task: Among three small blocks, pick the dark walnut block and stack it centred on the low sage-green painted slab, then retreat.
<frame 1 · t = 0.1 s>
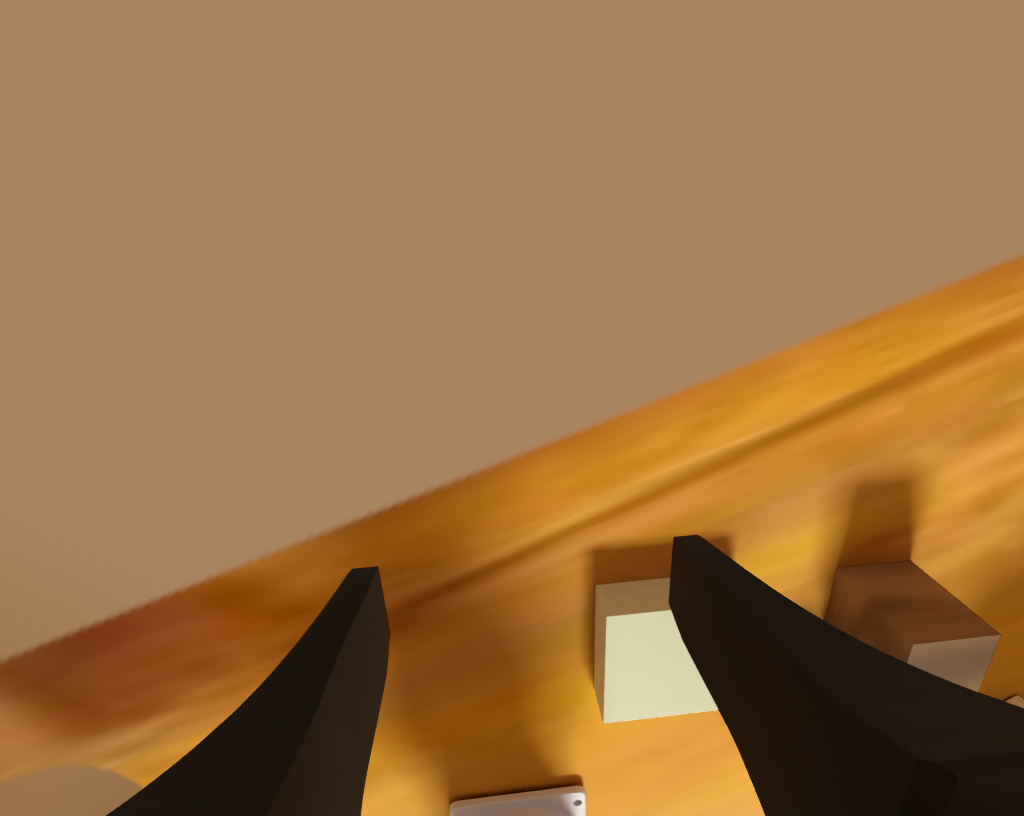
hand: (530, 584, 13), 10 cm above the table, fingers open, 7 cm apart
sage slab: (658, 625, 28), on the table
walnut block: (865, 594, 28), on the table
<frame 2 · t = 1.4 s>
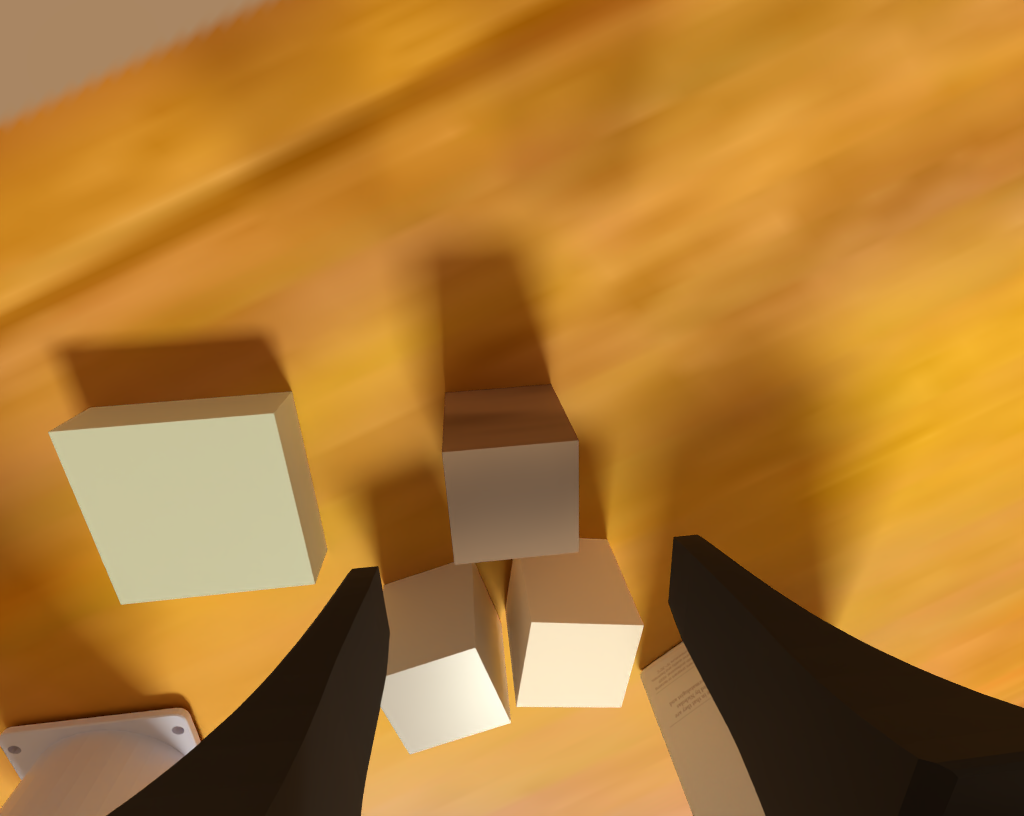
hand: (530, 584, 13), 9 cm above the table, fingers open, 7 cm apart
sage slab: (222, 478, 21), on the table
walnut block: (501, 435, 21), on the table
supplement box: (731, 664, 27), on the table
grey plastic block: (444, 603, 24), on the table
cream block: (555, 574, 24), on the table
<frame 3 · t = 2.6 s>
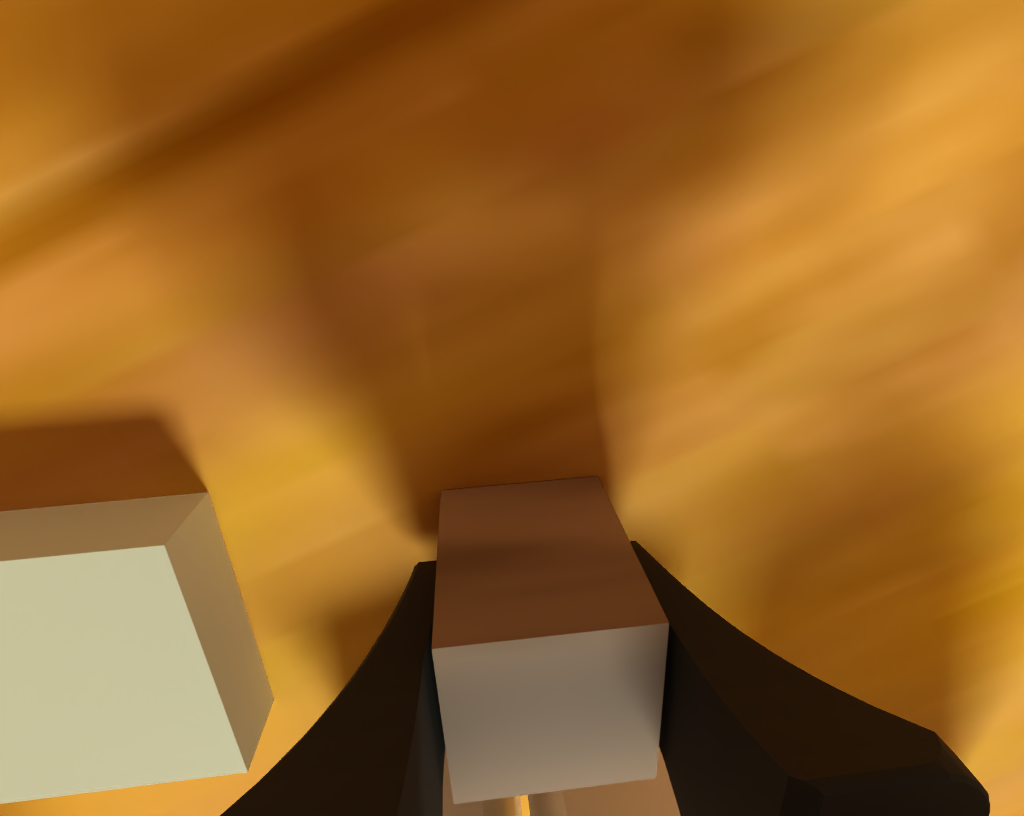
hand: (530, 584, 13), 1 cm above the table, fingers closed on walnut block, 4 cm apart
sage slab: (115, 609, 14), on the table
walnut block: (523, 548, 14), on the table, touching gripper
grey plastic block: (440, 759, 17), on the table
cream block: (593, 719, 17), on the table
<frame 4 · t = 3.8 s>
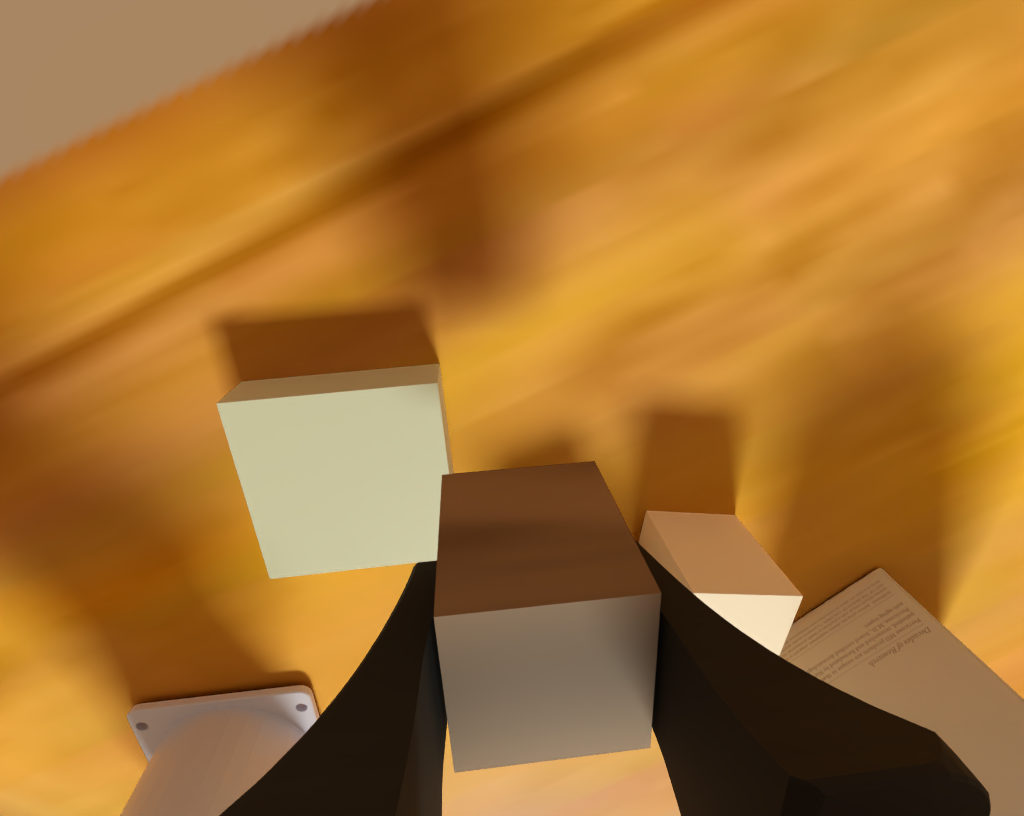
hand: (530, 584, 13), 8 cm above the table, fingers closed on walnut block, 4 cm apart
sage slab: (360, 453, 21), on the table
walnut block: (522, 532, 15), point 6 cm above the table, touching gripper
supplement box: (843, 643, 27), on the table
cream block: (680, 550, 23), on the table
when the fingers open (5 cm above the table, at t = 5.1 s): walnut block drops 1 cm, point 2 cm above the table.
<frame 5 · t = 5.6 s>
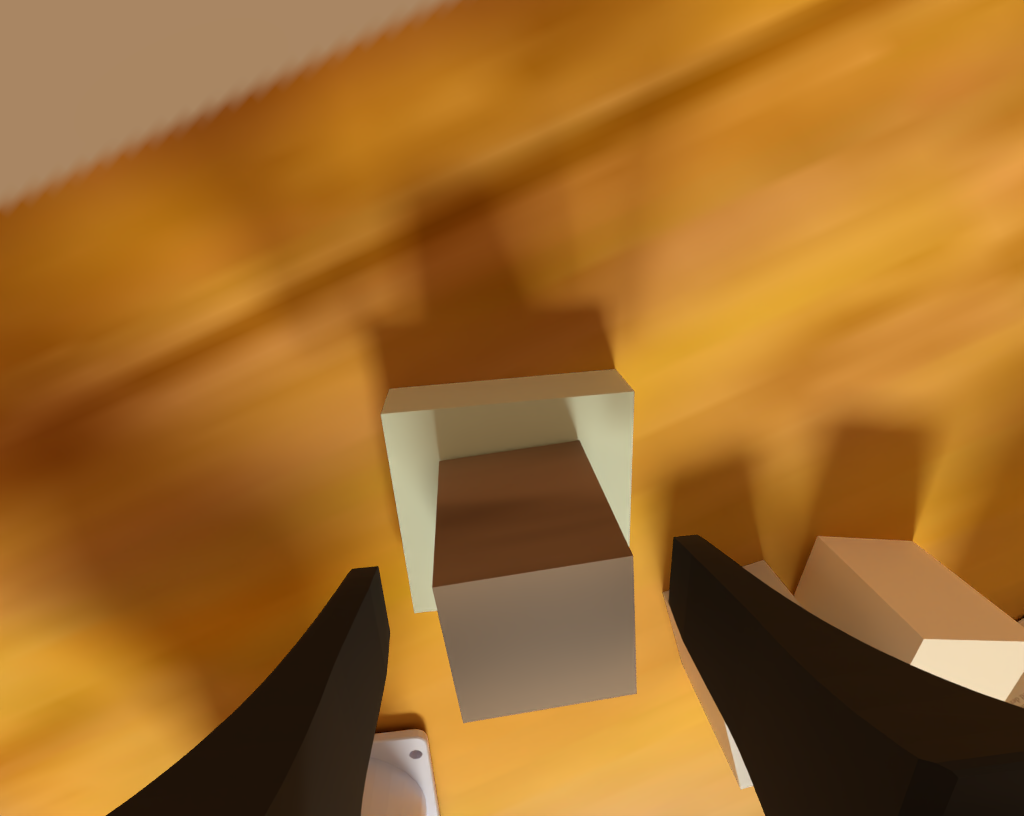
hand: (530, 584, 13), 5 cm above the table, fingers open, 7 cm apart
sage slab: (509, 469, 18), on the table
walnut block: (517, 509, 16), point 2 cm above the table
supplement box: (1001, 679, 24), on the table
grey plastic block: (720, 613, 21), on the table
cream block: (846, 580, 21), on the table
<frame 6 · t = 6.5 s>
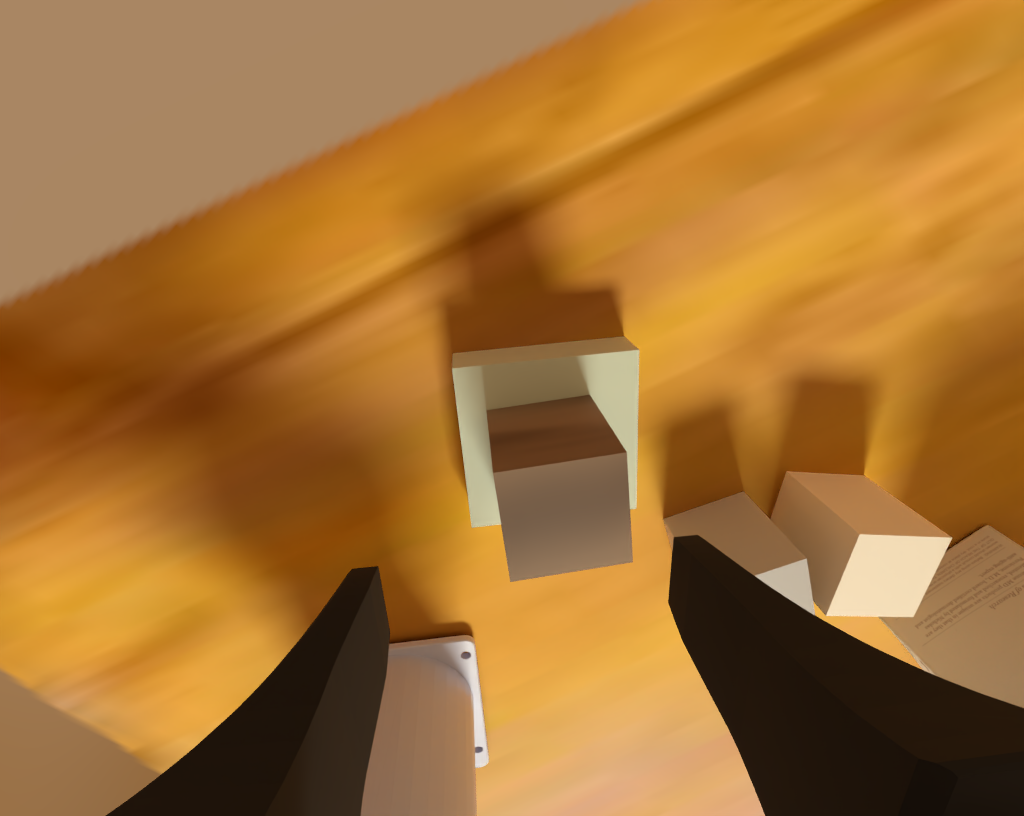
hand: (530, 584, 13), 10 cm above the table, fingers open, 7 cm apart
sage slab: (541, 418, 23), on the table
walnut block: (543, 449, 21), point 2 cm above the table
supplement box: (947, 597, 29), on the table
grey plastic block: (710, 537, 26), on the table
cream block: (811, 508, 26), on the table
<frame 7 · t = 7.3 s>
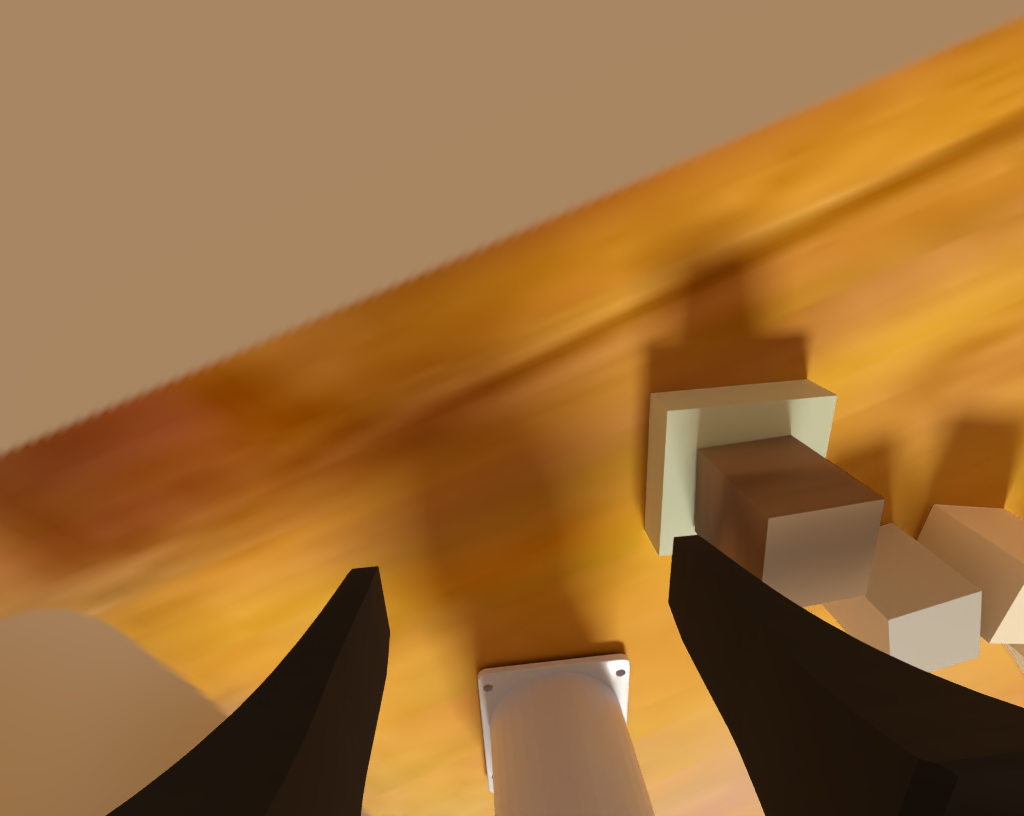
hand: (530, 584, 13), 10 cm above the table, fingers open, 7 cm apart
sage slab: (717, 452, 25), on the table, touching walnut block
walnut block: (741, 484, 22), point 2 cm above the table, touching sage slab
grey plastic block: (855, 564, 28), on the table
cream block: (951, 538, 28), on the table
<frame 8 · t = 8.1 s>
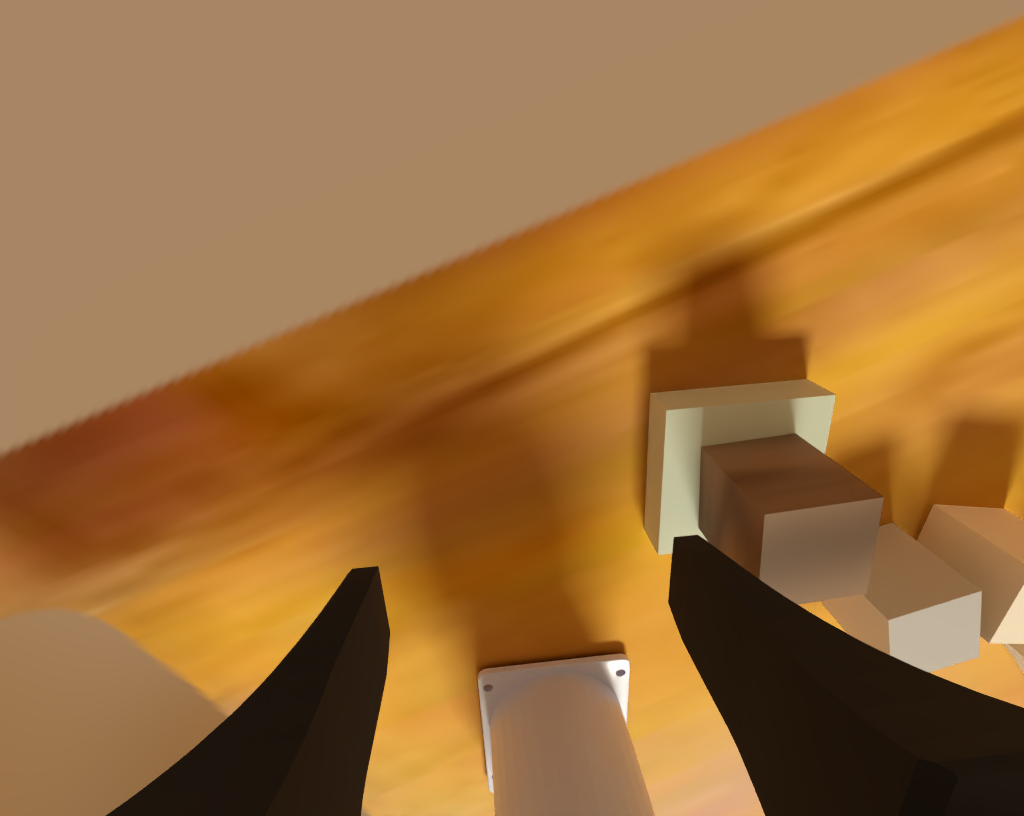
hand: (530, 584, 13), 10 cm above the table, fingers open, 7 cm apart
sage slab: (716, 452, 25), on the table, touching walnut block
walnut block: (745, 482, 23), point 2 cm above the table, touching sage slab
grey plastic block: (855, 564, 28), on the table
cream block: (951, 538, 28), on the table
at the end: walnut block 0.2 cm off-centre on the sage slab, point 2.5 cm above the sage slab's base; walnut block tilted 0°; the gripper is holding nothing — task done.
